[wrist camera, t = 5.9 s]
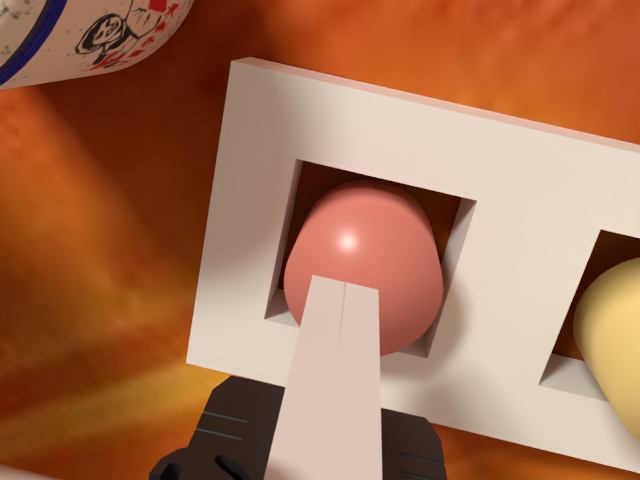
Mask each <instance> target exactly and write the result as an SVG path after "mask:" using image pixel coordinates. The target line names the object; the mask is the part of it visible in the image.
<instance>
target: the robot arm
mask: <svg viewBox="0 0 640 480" xmlns="http://www.w3.org/2000/svg"><path fill="white" fill-rule="evenodd" d="M149 480H447V476H446V469H445V467H444V457H443V451H442V445H441V439H440V438H439V436H438V435H437V433H436V432H435V430H434V429H433V427H432V426H431V424H430V423H429V421H428V420H427V419H426V418H424V417H420V416H416V415H411V414H407V413H403V412H398V411H394V410H389V409H385V408H381V392H380V343H379V294H378V289H373V288H369V287H364V286H360V285H356V284H351V283H347V282H342V281H338V280H334V279H329V278H325V277H320V276H316V275H312V280H311V284H310V288H309V292H308V296H307V300H306V305H305V309H304V313H303V317H302V321H301V325H300V330H299V334H298V338H297V342H296V346H295V350H294V355H293V359H292V363H291V367H290V371H289V376H288V380H287V384H286V388H284V387H280V386H275V385H271V384H267V383H262V382H258V381H253V380H249V379H245V378H240V377H236V376H230V377H229V378H228V379H226V380H225V381H224V382H222V383H221V384H220V385H218V386H217V387H216V388H214V389H213V390H212V393H211V395H210V397H209V399H208V402H207V404H206V406H205V409H204V412H203V414H202V415H201V418H200V420H199V422H198V425H197V428H196V431H194V434H193V436H192V438H191V441H190V443H189V445H188V447H187V448H181V449H178V450H176V451H174V452H172V453H170V454H169V455H167V456H165V457H163V458H161V460H160V461H159V462H158V463H157V464H156V466H155V467H154V468H153V469H152V471H151V472H150V474H149Z"/></svg>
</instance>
